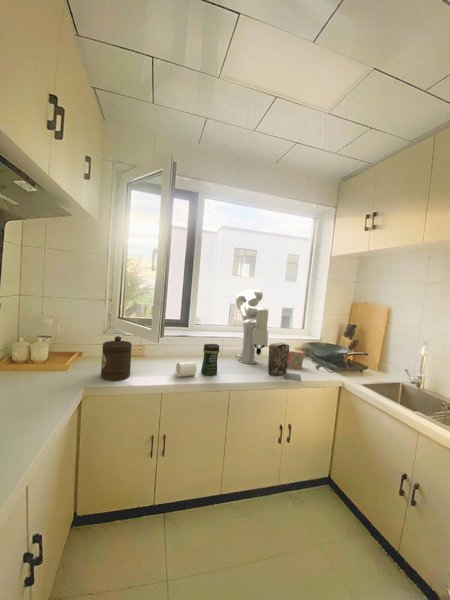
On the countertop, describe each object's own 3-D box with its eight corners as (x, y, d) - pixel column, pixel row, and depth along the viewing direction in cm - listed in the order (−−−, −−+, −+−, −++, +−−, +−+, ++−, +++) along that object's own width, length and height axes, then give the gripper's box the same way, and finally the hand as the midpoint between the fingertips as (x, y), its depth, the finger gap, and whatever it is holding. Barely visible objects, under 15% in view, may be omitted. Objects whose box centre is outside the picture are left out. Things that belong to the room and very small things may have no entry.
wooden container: (105, 370, 147) (108, 333, 146) (132, 371, 150) (135, 334, 148) (96, 380, 133) (99, 338, 131) (126, 381, 135) (129, 340, 133)
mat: (283, 378, 161) (283, 377, 161) (283, 372, 173) (283, 371, 173) (301, 381, 159) (301, 380, 159) (300, 375, 171) (300, 374, 170)
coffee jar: (203, 376, 152) (206, 345, 151) (199, 371, 160) (202, 342, 158) (218, 375, 156) (221, 345, 155) (214, 370, 163) (216, 342, 162)
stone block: (279, 370, 175) (281, 341, 173) (287, 373, 169) (289, 343, 168) (266, 374, 166) (268, 343, 165) (274, 377, 161) (276, 346, 160)
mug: (196, 377, 150) (197, 364, 149) (179, 379, 145) (180, 365, 145) (189, 370, 160) (190, 357, 160) (173, 371, 156) (174, 358, 155)
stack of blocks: (271, 366, 184) (273, 349, 184) (270, 363, 191) (272, 347, 190) (301, 369, 183) (303, 352, 183) (299, 366, 190) (301, 350, 189)
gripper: (249, 326, 167) (246, 354, 168) (272, 329, 163) (269, 357, 165) (250, 325, 174) (247, 351, 175) (272, 327, 171) (269, 354, 172)
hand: (258, 354), depth 170 cm, fingers closed
